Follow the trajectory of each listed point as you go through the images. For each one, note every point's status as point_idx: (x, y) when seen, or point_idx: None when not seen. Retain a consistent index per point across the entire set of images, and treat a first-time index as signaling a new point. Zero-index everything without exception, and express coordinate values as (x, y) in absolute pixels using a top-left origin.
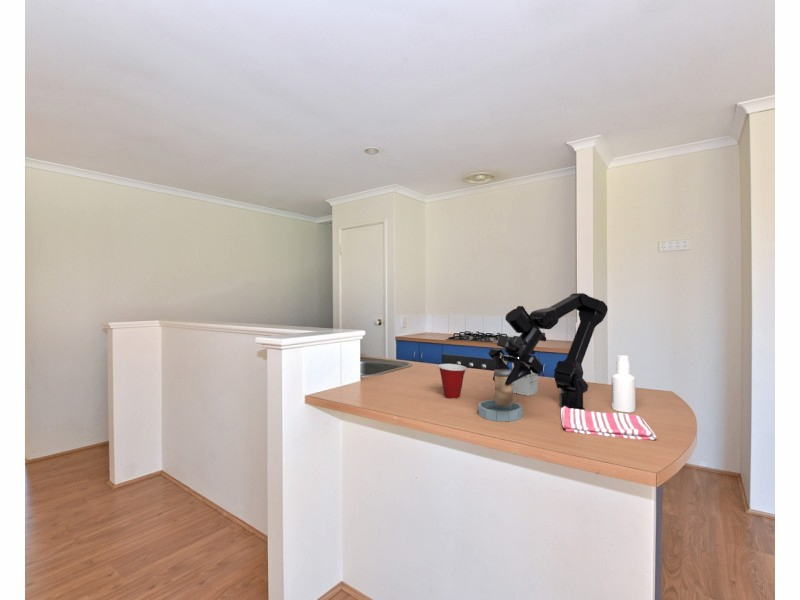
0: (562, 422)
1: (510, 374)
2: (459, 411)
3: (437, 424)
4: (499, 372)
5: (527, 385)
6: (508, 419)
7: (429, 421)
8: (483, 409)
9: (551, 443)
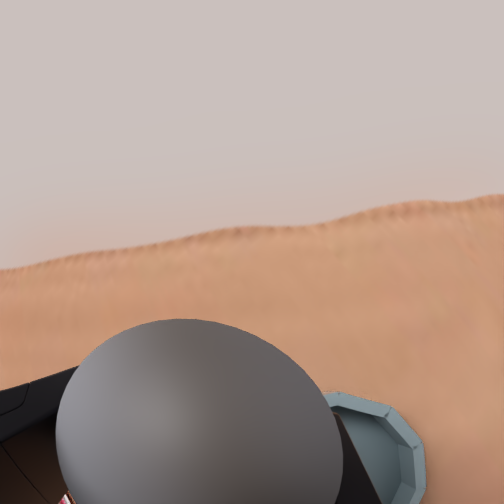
0: (66, 502)
1: (60, 388)
2: (459, 382)
3: (403, 212)
4: (171, 322)
5: None
6: None
7: (438, 217)
8: (356, 397)
9: (38, 309)
